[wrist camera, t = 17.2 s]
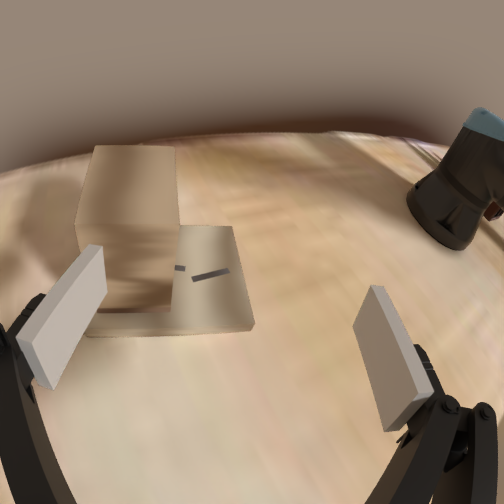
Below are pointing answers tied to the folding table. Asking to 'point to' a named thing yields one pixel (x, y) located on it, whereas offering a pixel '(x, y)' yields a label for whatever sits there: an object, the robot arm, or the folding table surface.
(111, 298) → the block
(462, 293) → the folding table surface
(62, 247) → the folding table surface
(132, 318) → the board
